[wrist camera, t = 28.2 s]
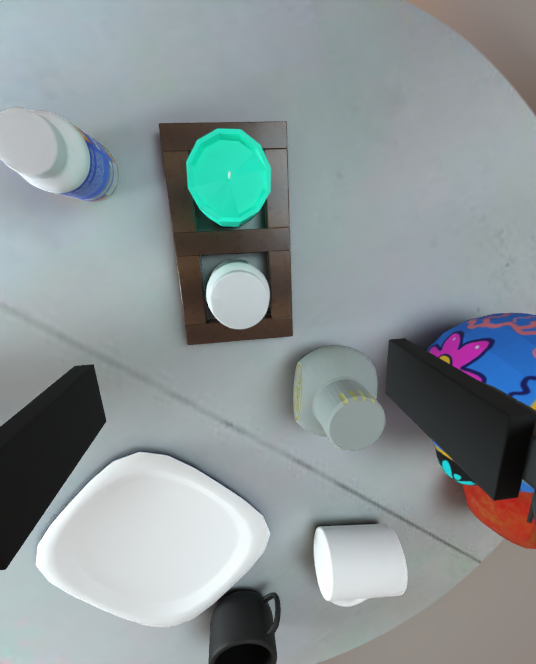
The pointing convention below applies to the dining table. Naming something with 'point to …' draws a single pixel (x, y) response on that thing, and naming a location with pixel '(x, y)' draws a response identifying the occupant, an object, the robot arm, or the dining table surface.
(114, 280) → the dining table surface
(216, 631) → the mug
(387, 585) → the mug
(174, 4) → the dining table surface
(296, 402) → the air freshener
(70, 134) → the pill bottle
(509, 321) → the ceramic pot
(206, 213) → the candle
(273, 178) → the holder
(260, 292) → the pill bottle
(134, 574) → the plate
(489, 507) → the apple
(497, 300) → the dining table surface
